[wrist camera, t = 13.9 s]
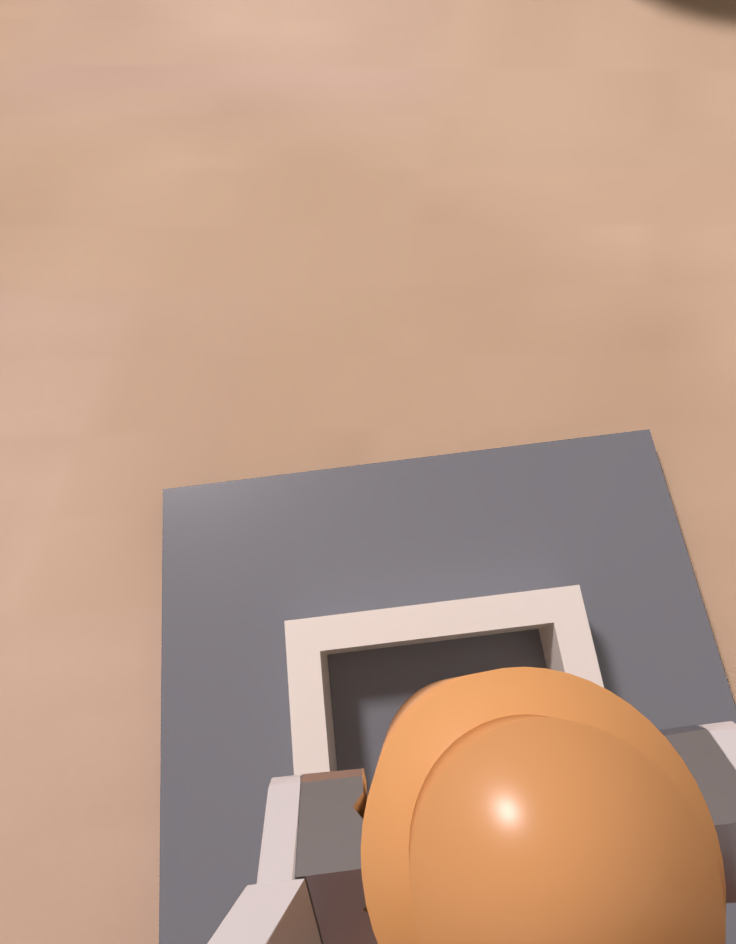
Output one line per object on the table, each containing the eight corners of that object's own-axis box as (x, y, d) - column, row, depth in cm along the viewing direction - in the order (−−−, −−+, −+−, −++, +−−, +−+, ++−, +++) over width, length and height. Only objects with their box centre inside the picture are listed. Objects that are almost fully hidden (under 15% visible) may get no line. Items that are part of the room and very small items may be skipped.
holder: (168, 1217, 15) (121, 1326, 13) (170, 496, 22) (141, 470, 20) (852, 1135, 15) (946, 1228, 13) (640, 438, 22) (673, 404, 20)
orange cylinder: (392, 871, 15) (380, 1199, 5) (372, 688, 16) (334, 688, 7) (564, 849, 15) (863, 1141, 5) (528, 668, 16) (708, 640, 7)
